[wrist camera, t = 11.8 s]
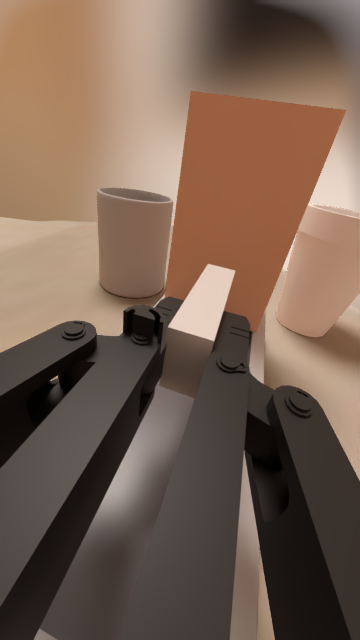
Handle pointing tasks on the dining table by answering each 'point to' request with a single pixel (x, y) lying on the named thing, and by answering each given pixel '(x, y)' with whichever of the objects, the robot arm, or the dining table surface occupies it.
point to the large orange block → (245, 192)
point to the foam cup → (321, 270)
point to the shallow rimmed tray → (147, 529)
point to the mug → (133, 240)
